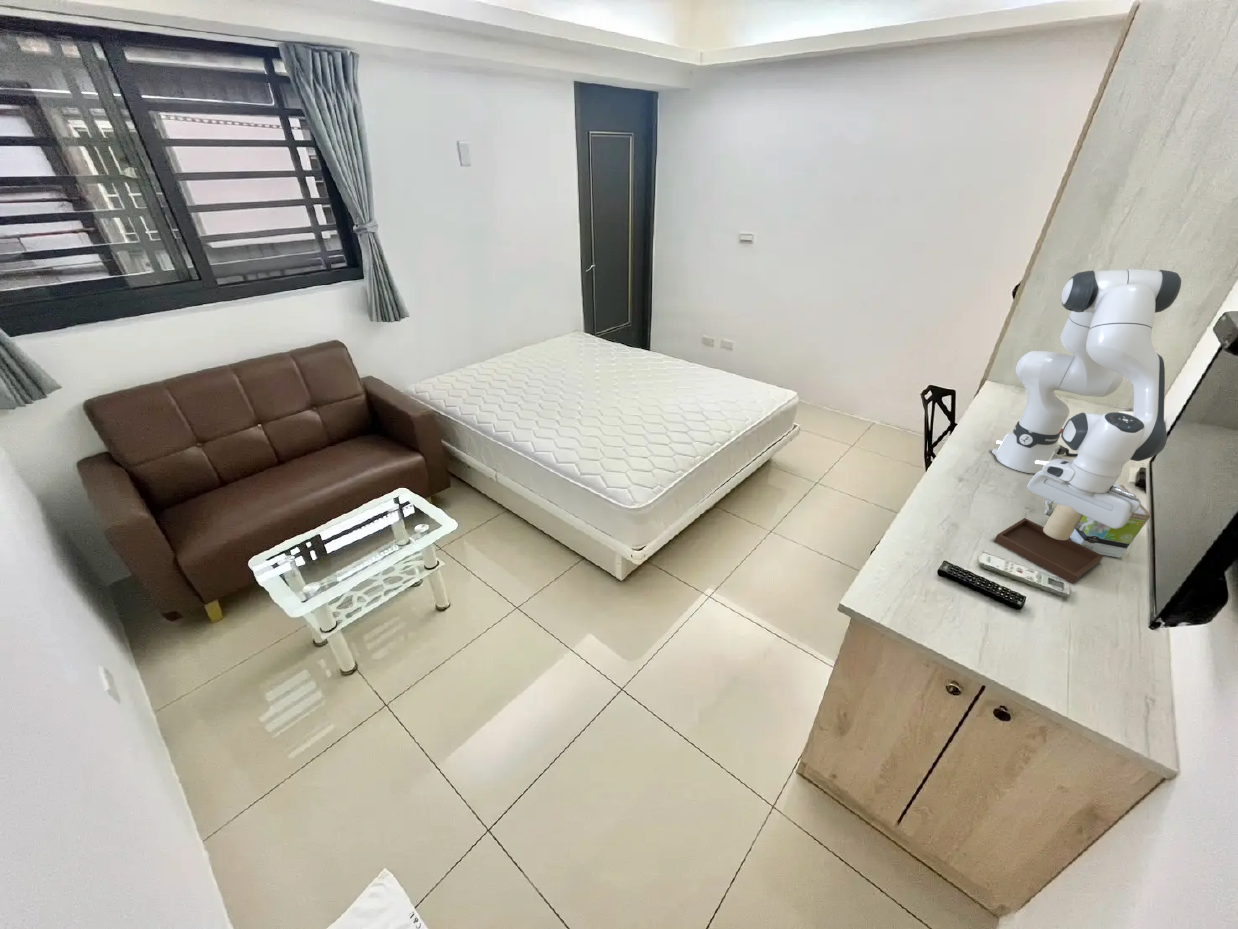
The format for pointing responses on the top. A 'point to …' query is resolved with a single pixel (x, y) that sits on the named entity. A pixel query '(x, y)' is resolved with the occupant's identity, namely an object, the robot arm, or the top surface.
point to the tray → (1048, 550)
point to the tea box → (1111, 533)
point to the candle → (1062, 522)
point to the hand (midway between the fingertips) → (1062, 521)
